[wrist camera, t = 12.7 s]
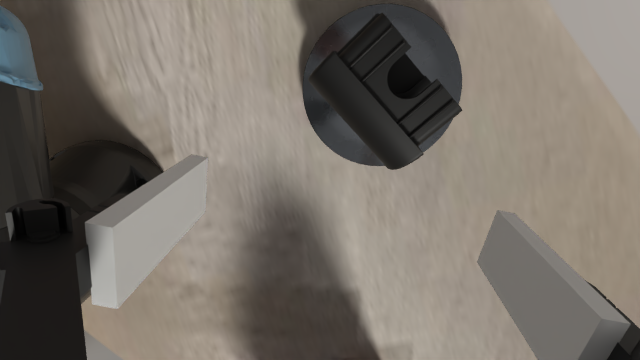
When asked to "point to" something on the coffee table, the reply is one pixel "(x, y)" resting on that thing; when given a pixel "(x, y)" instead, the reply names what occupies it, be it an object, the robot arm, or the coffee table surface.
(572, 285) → the robot arm
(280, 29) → the coffee table surface
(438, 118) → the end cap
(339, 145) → the plate
